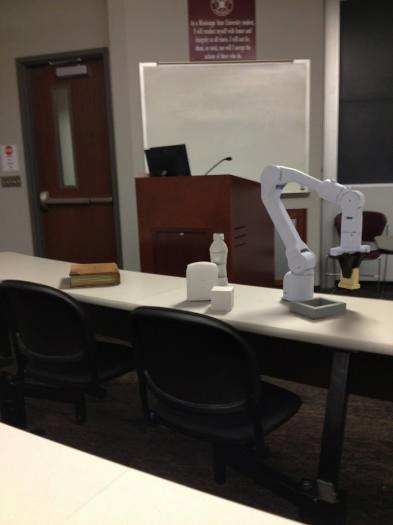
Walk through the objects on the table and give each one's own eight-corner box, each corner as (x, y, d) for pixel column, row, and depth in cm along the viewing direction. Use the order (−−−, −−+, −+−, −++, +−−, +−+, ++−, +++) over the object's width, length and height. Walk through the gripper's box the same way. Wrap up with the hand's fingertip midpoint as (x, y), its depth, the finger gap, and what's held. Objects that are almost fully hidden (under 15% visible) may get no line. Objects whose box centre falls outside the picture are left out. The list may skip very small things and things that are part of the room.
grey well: (289, 311, 128) (289, 301, 127) (319, 305, 134) (320, 296, 133) (314, 319, 119) (315, 309, 119) (345, 313, 125) (346, 303, 124)
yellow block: (351, 289, 128) (352, 269, 128) (338, 286, 133) (338, 266, 132) (359, 287, 130) (360, 267, 129) (346, 285, 134) (347, 265, 134)
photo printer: (187, 301, 141) (186, 263, 139) (186, 298, 145) (185, 261, 143) (219, 300, 142) (219, 262, 140) (217, 297, 146) (217, 260, 144)
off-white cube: (211, 310, 131) (210, 290, 130) (214, 305, 136) (214, 286, 135) (231, 311, 129) (231, 291, 128) (233, 305, 135) (233, 286, 134)
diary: (120, 286, 168) (120, 271, 167) (69, 289, 164) (69, 274, 163) (117, 275, 190) (116, 262, 190) (72, 277, 186) (71, 264, 185)
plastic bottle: (206, 291, 155) (205, 234, 152) (214, 287, 161) (214, 233, 158) (223, 293, 152) (222, 235, 149) (230, 289, 158) (230, 233, 155)
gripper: (344, 234, 122) (342, 282, 124) (379, 231, 129) (376, 277, 131) (325, 232, 128) (323, 278, 130) (359, 230, 135) (357, 273, 137)
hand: (349, 277), depth 131 cm, fingers closed on yellow block, 2 cm apart
